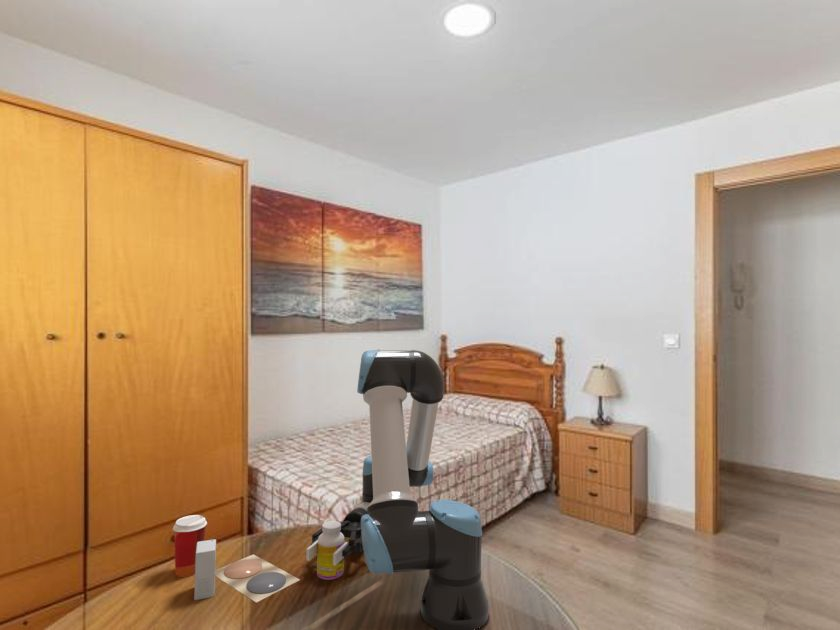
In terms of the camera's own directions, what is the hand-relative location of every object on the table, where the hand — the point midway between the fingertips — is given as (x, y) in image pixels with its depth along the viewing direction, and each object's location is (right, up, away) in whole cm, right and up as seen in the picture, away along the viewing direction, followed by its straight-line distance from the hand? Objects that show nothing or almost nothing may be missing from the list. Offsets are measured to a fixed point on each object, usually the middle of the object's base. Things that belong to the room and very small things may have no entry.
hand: (321, 557), depth 109 cm
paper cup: (-34, -7, +4) cm, 35 cm away
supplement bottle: (+1, -7, +4) cm, 9 cm away
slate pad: (-13, -6, -1) cm, 14 cm away
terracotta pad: (-21, -6, +5) cm, 22 cm away
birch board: (-17, -7, +2) cm, 18 cm away
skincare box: (-26, -7, -5) cm, 27 cm away
